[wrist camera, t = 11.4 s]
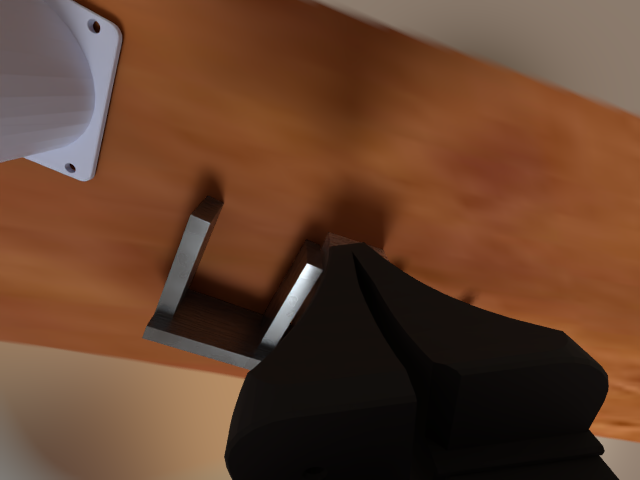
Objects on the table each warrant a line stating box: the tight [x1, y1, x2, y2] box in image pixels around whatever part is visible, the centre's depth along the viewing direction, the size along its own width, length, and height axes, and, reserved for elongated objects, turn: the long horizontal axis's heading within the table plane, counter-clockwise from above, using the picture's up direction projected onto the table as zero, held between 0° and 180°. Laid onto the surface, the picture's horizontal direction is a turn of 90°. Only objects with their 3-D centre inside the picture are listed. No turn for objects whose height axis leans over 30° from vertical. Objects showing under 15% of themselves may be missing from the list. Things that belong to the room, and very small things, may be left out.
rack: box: [142, 196, 323, 370], centre depth 19 cm, size 20×8×5 cm, turn 62°
